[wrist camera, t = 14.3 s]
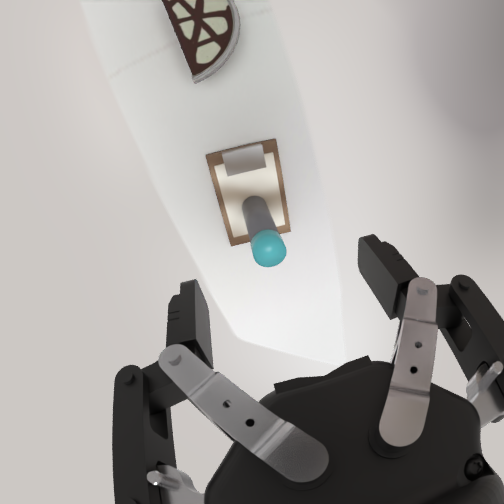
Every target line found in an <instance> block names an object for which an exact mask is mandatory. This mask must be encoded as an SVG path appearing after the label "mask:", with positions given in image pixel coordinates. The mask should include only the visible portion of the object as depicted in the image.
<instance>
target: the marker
mask: <svg viewBox="0 0 504 504" xmlns="http://www.w3.org/2000/svg"><path fill="white" fill-rule="evenodd" d="M242 212H243V216H244V220H245V224H246V227H247V231H248V235H249V239H250V243H251V248H252V252H253V256H254V259H255V261H256V263H258V264H259V265H261V266H264V267H272V266H275V265H278V264H279V263H281V262H282V261H283V259H284V258H285V256H286V247H285V245H284V242H283V240H282V238H281V236H280V234H279V232H278V229H277V227H276V225H275V222H274V220H273V218H272V216H271V213H270V211H269V209H268V206H267V204H266V202H265V200H264V199H263V198H262V197H260V196H250V197H248V198H247V199H245V200H244V202H243V204H242Z"/></svg>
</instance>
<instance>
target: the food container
mask: <svg viewBox="0 0 504 504" xmlns="http://www.w3.org/2000/svg"><path fill="white" fill-rule="evenodd" d="M162 2H163V4H164V6H165V8H166V11H167V13H168V15H169V19H170V20H171V23H172V25H173V28H174V32H176V36H177V37H178V40H179V42H180V45H181V49H182V50H183V53H184V55H185V58H186V61H187V63H188V65H189V67H190V70H191V72H192V79H193V82H194V83H195V84H196V83H198V82H200V81H202V80H204V79H206V78H207V77H209V76H210V75H212V74H213V73H215V72H216V71H217V70H218V69H219V68H221V67H222V65H223V64H224V63H225V62H226V61H227V60H228V58H229V57H230V55H231V54H232V52H233V51H234V48H235V46H236V44H237V41H238V37H239V33H240V18H239V13H238V10H237V7H236V5H235V3H234V1H233V0H162Z"/></svg>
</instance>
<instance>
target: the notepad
mask: <svg viewBox="0 0 504 504" xmlns="http://www.w3.org/2000/svg"><path fill="white" fill-rule="evenodd" d="M206 159H207V163H208V166H209V170H210V173H211V177H212V181H213V184H214V188H215V191H216V195H217V199H218V202H219V206H220V209H221V213H222V216H223V220H224V223H225V227H226V230H227V234H228V237H229V241H230V244H231V246H235V245H239V244H243V243H247V242H250V239H249V235H248V231H247V227H246V224H245V220H244V216H243V212H242V204H243V202H244V200H245V199H247V198H248V197H250V196H260V197H262V198H263V199H264V200H265V202H266V204H267V206H268V209H269V211H270V213H271V216H272V218H273V220H274V222H275V225H276V227H277V229H278V232H279V234H282V233H286V232H291V230H290V223H289V217H288V210H287V203H286V197H285V190H284V184H283V178H282V172H281V166H280V160H279V154H278V148H277V142H276V139H271V140H266V141H261V142H256V143H252V144H247V145H243V146H239V147H235V148H230V149H226V150H222V151H218V152H215V153H211V154H207V155H206Z"/></svg>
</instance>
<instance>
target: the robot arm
mask: <svg viewBox="0 0 504 504" xmlns="http://www.w3.org/2000/svg"><path fill="white" fill-rule="evenodd" d="M358 243H359V244H358V267H359V270H360V273H361V275H362V276H363V278H364V279H365V281H366V282H367V284H368V285H369V287H370V288H371V290H372V291H373V293H374V295H375V296H376V298H377V299H378V301H379V303H380V304H381V305H382V307H383V309H384V311H385V312H386V314H387V315H388V317H389V318H390V320H391V319H394V318H396V317H398V318H399V320H400V322H399V326H398V331H397V336H396V341H395V345H394V350H393V354H392V358H391V361H390V363H388V362H384V361H371V360H370V358H369V356H368V355H367V356H365V357H362V358H359V359H356V360H353V361H350V362H347V363H345V364H344V365H342V366H340V367H339V368H337V369H336V370H334V371H332V372H330V373H329V374H327V375H325V376H317V377H300V378H295V379H291V380H287V381H283V382H280V383H275V384H274V388H275V390H274V391H273V392H271V393H269V394H267V395H266V396H265V397H263V398H262V399H261V400H260V401H259V402H257V401H256V400H254V399H253V398H252V397H250V396H249V395H248V394H247V393H245V392H244V391H243V390H241V389H240V388H239V387H238V386H236V385H235V384H234V383H232V382H231V381H230V380H229V379H227V378H226V377H225V376H224V375H222V374H221V373H219V372H214V371H213V370H212V369H214V368H213V357H212V347H211V333H210V320H209V310H208V306H207V303H206V300H205V298H204V295H203V293H202V291H201V288H200V286H199V284H198V281H197V280H196V279H194V280H190V281H186V282H182V283H181V286H180V294H179V295H174V296H173V297H172V299H171V301H170V303H169V305H168V322H167V337H166V348H165V349H164V350H163V351H162V352H161V354H160V356H159V359H158V361H156V362H155V363H153V364H152V365H149V366H147V367H145V368H143V369H140V368H139V367H138V366H135V365H128V366H125V367H124V368H122V369H121V370H120V371H119V372H118V373H117V375H116V377H115V384H114V402H113V433H112V435H113V436H112V450H113V479H114V480H113V481H114V496H115V504H504V485H503V483H502V480H501V478H500V477H499V476H498V475H497V473H495V471H494V470H493V469H492V468H491V467H490V466H489V464H488V463H487V462H486V460H485V459H484V457H483V454H482V450H481V443H480V432H481V431H480V429H481V428H482V427H484V426H485V425H487V424H488V423H490V422H493V423H496V422H499V421H500V420H502V419H503V418H504V321H503V319H502V318H501V316H500V315H499V314H498V312H497V311H496V309H495V308H494V307H493V305H492V304H491V303H490V301H489V300H488V298H487V297H486V296H485V294H484V293H483V292H482V291H481V289H480V288H479V287H478V285H477V284H476V283H475V282H474V281H473V280H472V279H471V278H470V277H468V276H466V275H456V276H455V277H453V278H452V281H451V284H446V285H435V283H434V282H433V281H431V280H430V279H427V278H423V277H419V276H418V275H417V273H416V272H415V271H414V270H413V269H412V267H411V266H410V265H409V264H408V262H407V261H406V260H405V259H404V258H403V257H402V255H401V254H399V252H398V251H397V249H396V248H395V247H394V246H392V245H391V244H389V243H387V242H381V241H380V240H379V239H378V238H377V237H376V236H375V235H374V234H371V235H368V236H364V237H361V238H359V242H358ZM465 319H466V320H467V321H466V320H465ZM467 322H468V323H469V324H468V323H467ZM469 325H470V326H469ZM438 329H440V331H441V332H442V334H443V336H444V337H445V339H446V341H447V343H448V344H449V346H450V348H451V350H452V352H453V353H454V355H455V357H456V359H457V361H458V363H459V365H460V366H461V368H462V370H463V372H464V374H465V376H466V378H467V380H468V384H467V387H466V392H467V399H465V398H463V397H461V396H459V395H456V394H454V393H452V392H450V391H448V390H446V389H443V388H442V387H439V386H438V385H435V384H433V383H431V379H432V372H433V366H434V359H435V351H436V341H437V332H438ZM186 399H188V400H189V401H190V402H191V403H192V404H193V405H194V406H195V407H196V408H198V410H199V411H200V412H201V413H202V414H204V415H205V416H206V417H207V418H208V419H209V420H210V421H211V422H212V423H213V424H214V425H216V427H217V428H218V429H219V430H220V431H222V432H223V433H224V434H225V435H226V436H227V437H228V438H230V439H231V440H232V441H233V442H234V443H233V444H232V446H231V448H230V449H229V451H228V453H227V454H226V456H225V458H224V459H223V461H222V463H221V464H220V466H219V467H218V469H217V471H216V472H215V474H214V475H213V477H212V479H211V480H210V482H209V483H208V485H207V487H206V490H205V493H204V494H201V493H199V492H198V491H197V490H196V489H195V487H194V485H193V482H192V480H191V478H190V477H189V476H188V475H187V474H186V473H184V472H182V471H180V470H177V467H176V459H175V450H174V441H173V432H172V421H171V410H170V407H171V406H173V405H175V404H177V403H179V402H181V401H184V400H186Z"/></svg>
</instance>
